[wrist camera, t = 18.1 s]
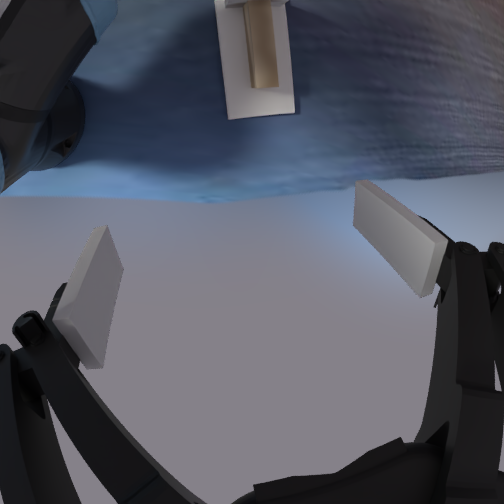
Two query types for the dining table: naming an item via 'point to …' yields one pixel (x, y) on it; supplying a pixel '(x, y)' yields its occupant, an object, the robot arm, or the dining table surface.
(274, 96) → the cutting board
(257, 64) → the scraper
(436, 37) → the dining table surface
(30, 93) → the robot arm
